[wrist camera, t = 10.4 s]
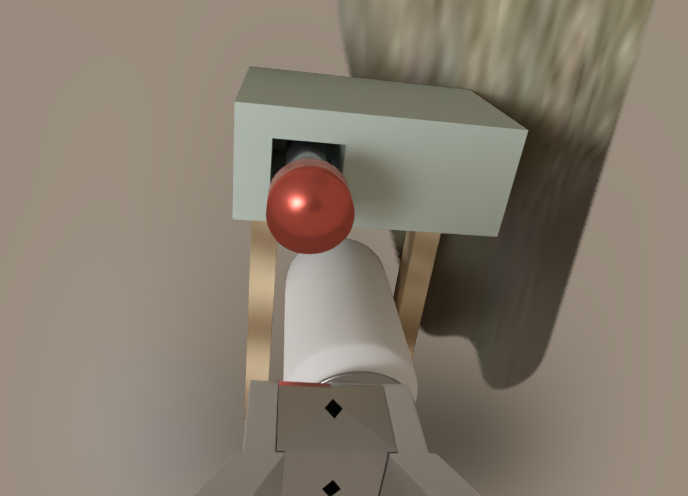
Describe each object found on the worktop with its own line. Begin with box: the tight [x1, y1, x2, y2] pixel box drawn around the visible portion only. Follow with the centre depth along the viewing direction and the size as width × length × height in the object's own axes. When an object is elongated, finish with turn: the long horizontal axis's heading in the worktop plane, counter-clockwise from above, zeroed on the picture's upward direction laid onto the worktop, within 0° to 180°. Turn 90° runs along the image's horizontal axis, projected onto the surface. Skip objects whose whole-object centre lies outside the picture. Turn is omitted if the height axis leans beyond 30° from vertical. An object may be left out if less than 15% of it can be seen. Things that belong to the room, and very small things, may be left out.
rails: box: [244, 220, 441, 420], centre depth 34 cm, size 17×11×2 cm, turn 173°
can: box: [283, 238, 418, 408], centre depth 28 cm, size 6×6×12 cm
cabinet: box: [233, 66, 528, 237], centre depth 25 cm, size 5×12×8 cm, turn 83°
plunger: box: [266, 140, 355, 254], centre depth 21 cm, size 3×3×8 cm
